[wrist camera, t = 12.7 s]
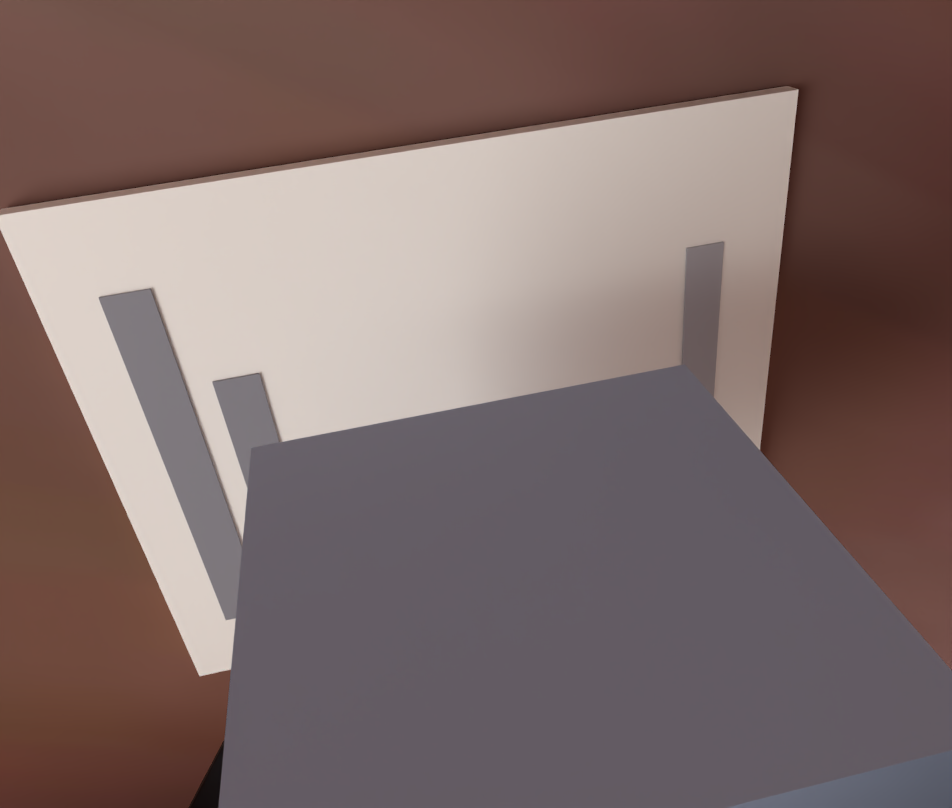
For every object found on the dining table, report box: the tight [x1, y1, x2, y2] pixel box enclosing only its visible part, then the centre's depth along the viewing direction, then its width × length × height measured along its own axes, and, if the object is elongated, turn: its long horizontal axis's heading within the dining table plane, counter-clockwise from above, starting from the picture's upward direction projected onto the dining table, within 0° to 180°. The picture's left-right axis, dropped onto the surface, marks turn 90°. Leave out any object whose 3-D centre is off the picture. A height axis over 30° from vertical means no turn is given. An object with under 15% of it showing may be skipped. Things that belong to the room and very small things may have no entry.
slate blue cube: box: [218, 364, 952, 808], centre depth 8 cm, size 5×5×5 cm
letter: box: [0, 86, 799, 676], centre depth 13 cm, size 9×11×1 cm
